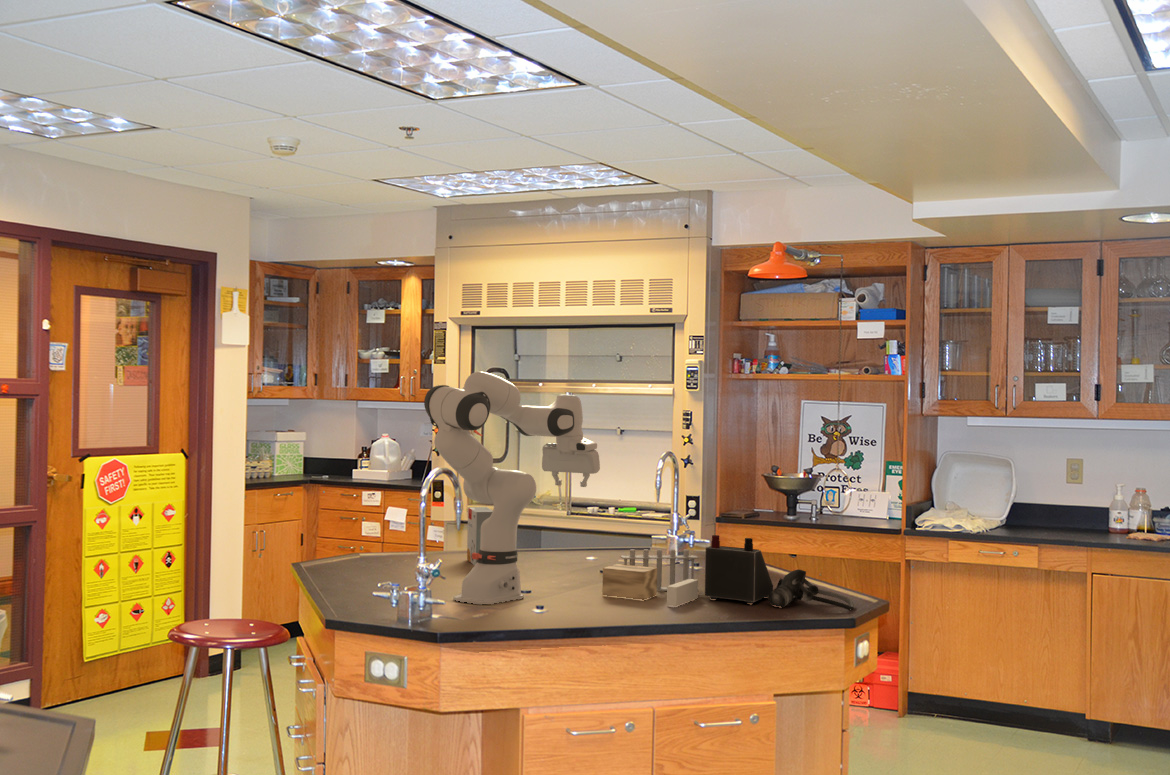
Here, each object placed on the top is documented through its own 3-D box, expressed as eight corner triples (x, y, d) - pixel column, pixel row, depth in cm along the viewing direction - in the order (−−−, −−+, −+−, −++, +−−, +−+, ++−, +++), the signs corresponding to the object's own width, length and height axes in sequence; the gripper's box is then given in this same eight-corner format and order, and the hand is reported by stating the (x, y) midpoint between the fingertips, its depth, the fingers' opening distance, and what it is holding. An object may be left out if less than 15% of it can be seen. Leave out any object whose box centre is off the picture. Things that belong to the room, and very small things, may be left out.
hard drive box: (466, 560, 387) (467, 507, 388) (486, 559, 390) (487, 506, 390) (474, 566, 373) (475, 511, 373) (495, 565, 375) (496, 511, 375)
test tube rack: (694, 589, 335) (695, 548, 336) (698, 591, 331) (698, 550, 331) (619, 589, 332) (620, 548, 332) (621, 592, 328) (622, 550, 328)
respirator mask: (773, 587, 325) (804, 553, 322) (826, 636, 319) (858, 601, 315) (760, 598, 306) (793, 561, 303) (816, 650, 300) (850, 613, 297)
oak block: (643, 601, 312) (644, 572, 313) (602, 597, 319) (602, 568, 319) (656, 596, 321) (657, 567, 321) (616, 592, 328) (616, 563, 328)
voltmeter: (773, 598, 322) (774, 534, 322) (754, 606, 308) (755, 539, 308) (725, 592, 330) (726, 530, 331) (704, 600, 316) (705, 535, 316)
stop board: (676, 607, 303) (676, 587, 304) (666, 606, 305) (667, 586, 305) (697, 599, 317) (698, 579, 317) (688, 598, 319) (689, 578, 319)
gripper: (537, 444, 337) (538, 485, 338) (592, 446, 327) (593, 489, 328) (547, 441, 343) (548, 482, 344) (601, 443, 333) (602, 486, 334)
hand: (571, 486), depth 336 cm, fingers open, 8 cm apart
